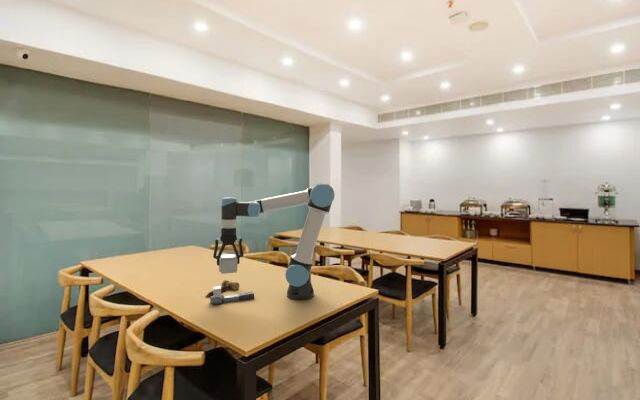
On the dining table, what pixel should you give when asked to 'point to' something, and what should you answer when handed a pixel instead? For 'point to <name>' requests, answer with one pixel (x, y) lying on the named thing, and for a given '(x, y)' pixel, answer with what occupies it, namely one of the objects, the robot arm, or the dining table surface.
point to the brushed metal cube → (228, 263)
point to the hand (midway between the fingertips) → (228, 270)
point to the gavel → (226, 287)
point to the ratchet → (228, 297)
